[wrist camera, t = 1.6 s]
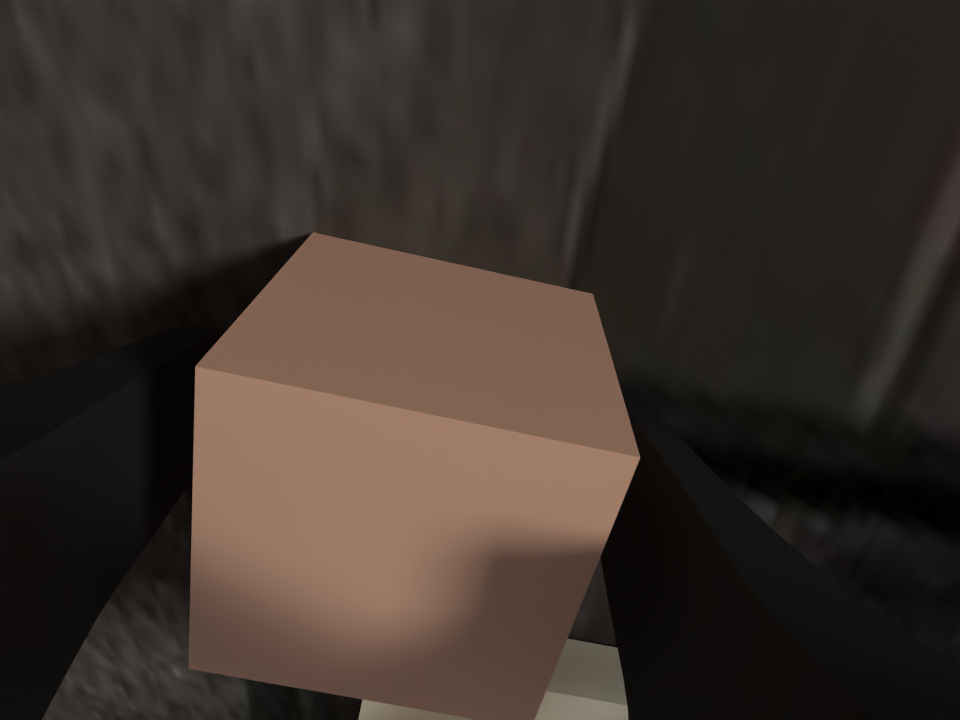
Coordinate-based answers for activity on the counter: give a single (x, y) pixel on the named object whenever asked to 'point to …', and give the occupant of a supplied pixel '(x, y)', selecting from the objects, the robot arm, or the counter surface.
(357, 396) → the cube
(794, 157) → the counter surface
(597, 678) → the base
